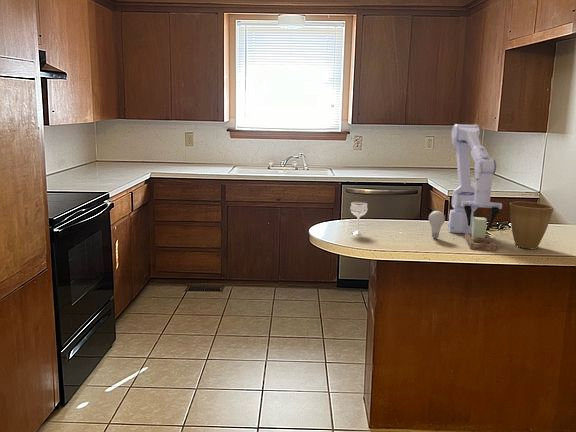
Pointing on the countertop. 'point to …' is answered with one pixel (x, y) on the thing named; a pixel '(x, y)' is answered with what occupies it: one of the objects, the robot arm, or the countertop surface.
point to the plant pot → (529, 222)
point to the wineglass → (358, 212)
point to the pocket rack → (480, 242)
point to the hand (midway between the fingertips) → (479, 226)
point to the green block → (479, 227)
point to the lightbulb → (436, 222)
